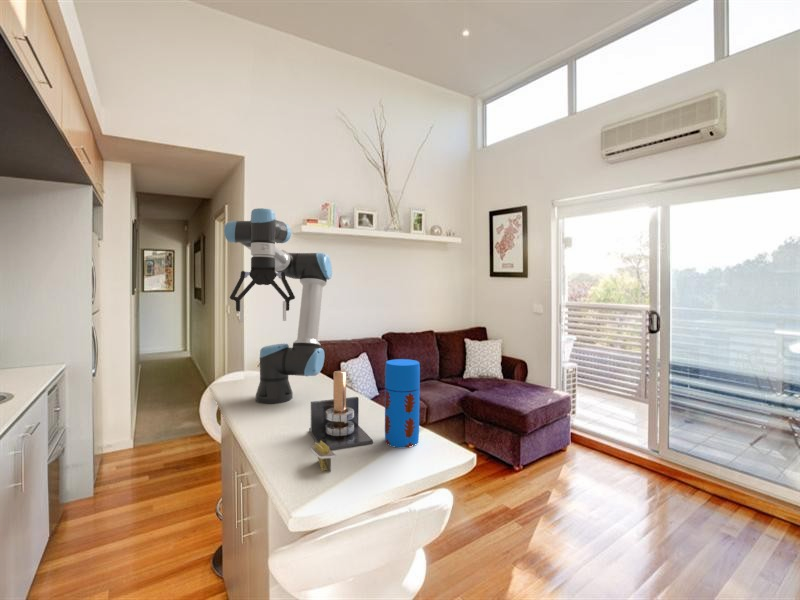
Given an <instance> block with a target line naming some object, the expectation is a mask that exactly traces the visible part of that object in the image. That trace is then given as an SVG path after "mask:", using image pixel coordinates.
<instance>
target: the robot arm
mask: <svg viewBox="0 0 800 600" xmlns="http://www.w3.org/2000/svg"><path fill="white" fill-rule="evenodd" d="M223 233H224V237H225V239H226V240H227V241H228V242H230V243H235V244H236V243H239V244H241V245H243V246H244V247H246V248H247V249H248V250H250V255H251V256H252V257H250V271H244V270H241V271H240V275H239V276H240V277H239V278H238V281H237V283H236V284H235V287H234V288H233V290H232V292H231V294H230V296H229V299H230V300H232V301H235V310H236V312H239V323H243V322H244V321H243V319H244V317H243V309H244V307H243V301H241V300H242V299H243V298H244V297H245V296H246V294H247V293H249V291H250V290H251V289H252V288H253V287H254V286H255V284H256V285H258V286H262V285H264V286H269V285H271V286H272V287H273V288H274V289H275V290H276V291H277V293H278V294H279V295H280V296H281V297H282V298H283V300H284V301H282V321H283V322H286V321H287V311H288V312H289V310H290V303H291V301H292V300H295V298H296V296H295V294H294V292H293V290H292V289H291V288H292V287H291V286H290V285H289V283H288V280H287V278H290V279H294V280H299V282H300V284H301V285H302V289H301V291H302V292H301V299H300V309H299V310H300V311H299V318H298V319H299V320H298V329H297V338H296V340H294V341H293V342H292V347H290V345H289V343H277V344H271V345H266V346H265V345H264V346H263V347H261V349H260V350H259V384H258V386H257V389H256V393H255V401H256V402H257V401H258V402H257V403H260V402H262V403H261V404H279V402H280V403H285V402H288V401H290V400H292V399H293V398H294V397H293V396H294V395H293V393H294V392H293V389H292V386H291V384H290V381H289V376H297V377H298V376H299V377H300V376H301V377H315V376H317V375H319V374H320V372H321V371H322V369H323V367H324V363H325V350H324V349H323V347H321V346H322V345H321V343H320V341H318V340H319V331H320V328H319V327H320V321H321V320H320V319H321V317H320V316H321V309H322V308H321V307H322V297H323V287H325V286H327V282H328V280H330V279H332V275H333V267H332V262H331V258H330V257H329V255H328V254H327V253H322V252H307V253H306V252H297V253H296V252H287V251H286V250H284V249H280V248H279V247H278V246H277V245H276V244H285V243H287V242H288V241H290V239H291V237H292V230H291V227H290V226H289V225H288V224H287V223H285V222H283V221H280V220H277V219H276V212H275V210H273V209H270V208H253V209H252V210H251V211H250V220H231V221H227V222H226V223H225V225H224V229H223ZM248 277H250V279H252V280H251V281H250V282H249V284H247V286H246V287H245V288H244V289H243V290H242V292H240V294H239V295H237V293H238V291H239V289H240V288H241V286H242V284H243V282H244V280H245V279H246V278H248ZM276 277H278V279H280V280H281V282H282V284H283V286H284V288H285V290H286V292H287V294H288V295H287V294H286V293H285V292H284V290H283V289H282V288H281V287H280V286H279V284H277V282H276V281H275V279H276ZM236 295H237V296H236Z"/></svg>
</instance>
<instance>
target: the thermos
mask: <svg viewBox="0 0 800 600" xmlns="http://www.w3.org/2000/svg"><path fill="white" fill-rule="evenodd" d="M420 365H421V364H420V362H419V360H415V359H414V360H413V359H408V358H407V359H406V358H401V359H399V358H397V359H390V360H386V362H385V368H384V369H385V371H384V372H385V373H384V375H385V376H384V378H385V379H384V382H385V383H384V385H385V386H384V440H385V444H386V443H387V444H386V445H388V444H389V445H391V446H390V447H392V446H395V447H394V448H397V447H408V448H410V447H409V446H412V445H415V444H417V443H418V444H419V440H420V439H419V438H420V394H421V393H420V390H421V389H420V387H421V386H420V383H421V381H420V380H421V379H420V377H421V367H420ZM418 444H417V445H418ZM389 445H388V446H389ZM415 446H416V445H415Z"/></svg>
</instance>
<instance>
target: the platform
mask: <svg viewBox="0 0 800 600" xmlns="http://www.w3.org/2000/svg"><path fill="white" fill-rule="evenodd" d="M310 451H311V452H312V453H313V454H314V455H316V456H317V460H318V462H319V466H320V469H321V472H323V471H328V472H329V473H331V472H332V467H331V466H332V459H333V458H336V454H335V452H333V450H330V449H329V447H328V446H327V445H326V444H325V443H323V442H322V441H320V443H316V441H315V442H314V444H313V445H312V446H310ZM327 469H328V470H327Z"/></svg>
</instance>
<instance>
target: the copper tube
mask: <svg viewBox="0 0 800 600" xmlns="http://www.w3.org/2000/svg"><path fill="white" fill-rule="evenodd" d="M332 389H333V391H332V392H333V413H336V414H341V413H346V398H347V371H345V370H336V371H334V372H333V388H332ZM333 427H335V428H342V427H346V421H342V422H335V421H333Z"/></svg>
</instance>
